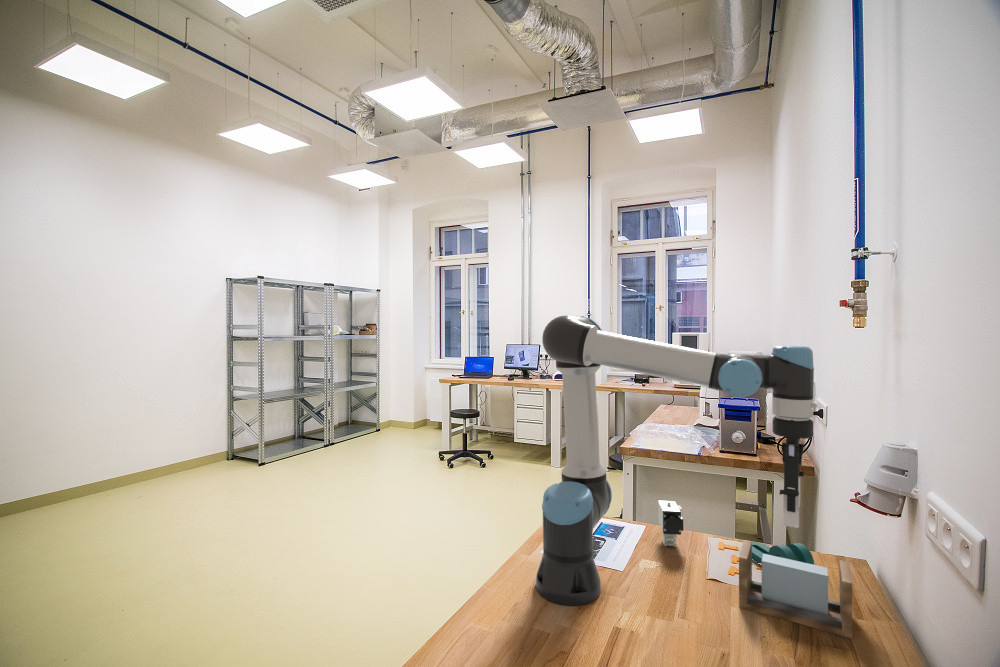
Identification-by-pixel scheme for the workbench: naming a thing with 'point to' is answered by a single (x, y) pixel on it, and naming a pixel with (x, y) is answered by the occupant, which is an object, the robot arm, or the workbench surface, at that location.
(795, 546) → the bracket
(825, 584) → the door panel
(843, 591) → the track
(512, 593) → the workbench surface
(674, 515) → the pneumatic valve
